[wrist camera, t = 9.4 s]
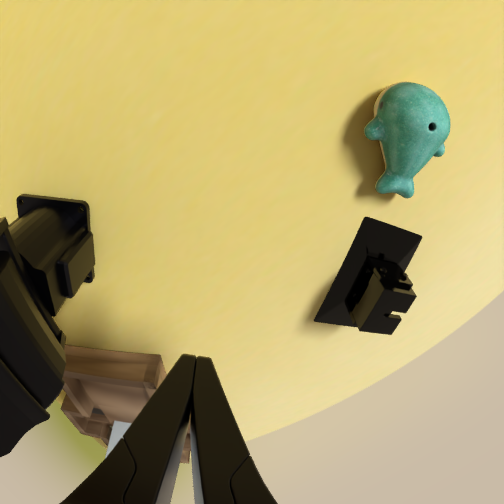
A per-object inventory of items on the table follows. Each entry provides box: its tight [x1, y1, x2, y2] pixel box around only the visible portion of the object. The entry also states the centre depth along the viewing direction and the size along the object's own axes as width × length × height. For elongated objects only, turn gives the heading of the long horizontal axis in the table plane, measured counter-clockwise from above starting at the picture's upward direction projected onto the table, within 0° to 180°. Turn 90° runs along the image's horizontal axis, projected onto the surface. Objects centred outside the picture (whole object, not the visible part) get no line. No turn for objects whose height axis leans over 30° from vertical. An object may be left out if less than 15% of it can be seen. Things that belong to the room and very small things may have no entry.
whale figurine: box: [364, 82, 450, 198], centre depth 15 cm, size 6×7×4 cm
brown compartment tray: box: [61, 345, 191, 463], centre depth 29 cm, size 20×17×3 cm
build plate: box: [314, 217, 422, 335], centre depth 21 cm, size 12×7×5 cm, turn 164°
